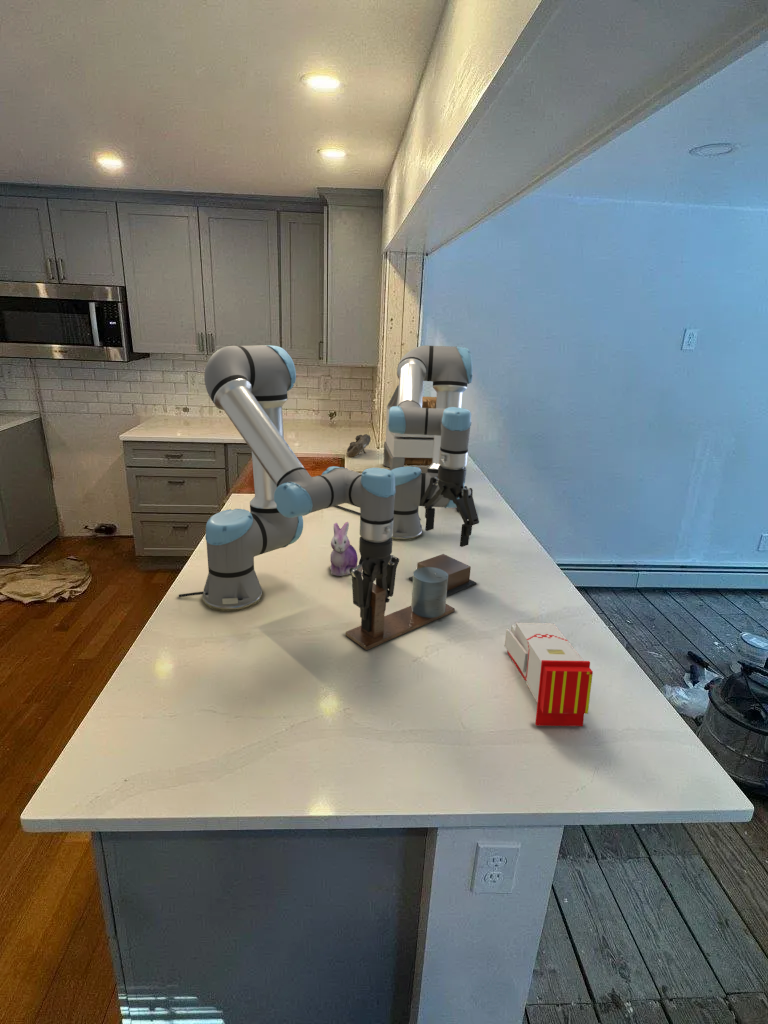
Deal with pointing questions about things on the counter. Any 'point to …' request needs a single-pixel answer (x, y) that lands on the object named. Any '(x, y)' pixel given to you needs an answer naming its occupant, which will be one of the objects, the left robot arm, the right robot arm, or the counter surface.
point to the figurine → (342, 552)
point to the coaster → (457, 589)
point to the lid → (449, 569)
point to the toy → (551, 672)
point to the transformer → (408, 442)
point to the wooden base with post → (405, 609)
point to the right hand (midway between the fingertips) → (446, 537)
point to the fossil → (358, 445)
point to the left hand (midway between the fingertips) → (372, 626)
